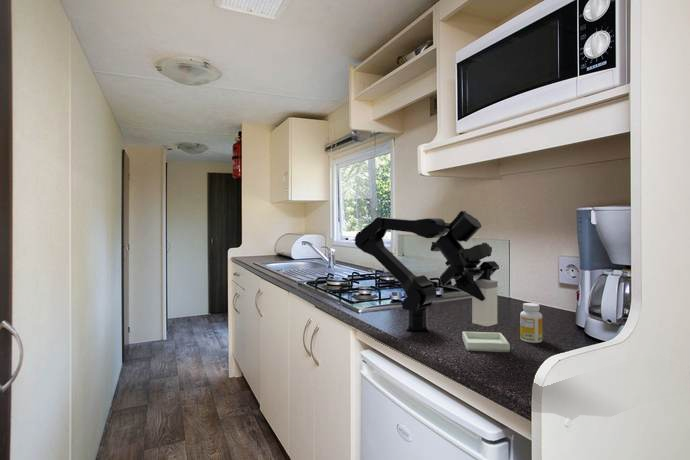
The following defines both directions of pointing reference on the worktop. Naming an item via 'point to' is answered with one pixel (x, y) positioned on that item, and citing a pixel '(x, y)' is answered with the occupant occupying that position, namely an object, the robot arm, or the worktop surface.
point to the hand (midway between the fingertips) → (489, 298)
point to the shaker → (485, 303)
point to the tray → (485, 342)
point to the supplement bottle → (531, 323)
